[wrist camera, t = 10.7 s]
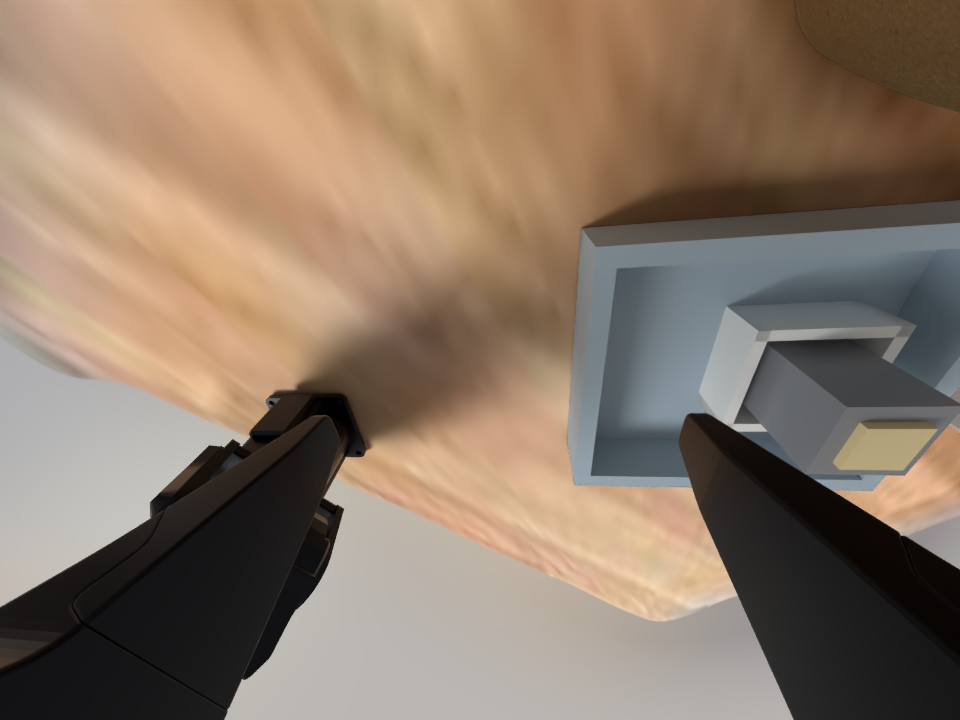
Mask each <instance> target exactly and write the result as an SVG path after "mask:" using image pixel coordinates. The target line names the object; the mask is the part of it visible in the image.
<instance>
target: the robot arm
mask: <svg viewBox="0 0 960 720" xmlns="http://www.w3.org/2000/svg"><path fill="white" fill-rule="evenodd" d="M338 400H340V401H341V402H340V401H338ZM266 404H267V406H268V407H269V409H270V410H269V411H268V412H267V413H266V414H265V416H264V417H263V418H262V419H261V420H260V421H259V422H258V423H257V424H256V425H255V426H254V427H253V428H252V429H251V431H250V433H249V435H250V436H251V437H250V438H249V440H247V442H246V443H245V444H244V445H243V446H242V447H241V446H240V443H238V442H236V441H235V440H231V441H230V442H229V443H228V444H227V445H226V446H225V447H222V446H220V447H219V446H210V445H209V446H208V447H207V448H206V449H205V450H204V451H203V452H202V453H201V454H200V455H199V456H198V457H197V458H196V459H195V460H194V461H193V462H192V463H191V464H190V465H189V466H188V467H187V468H186V469H185V470H184V471H182V472H181V473H180V474H179V475H178V476H177V477H176V478H175V479H174V480H173V481H172V482H171V483H170V484H169V485H168V486H167V487H165V489H163V490H162V491H161V492H160V493H159V494H158V495H157V496H156V497H155V498H154V499H153V500H152V501H151V502H150V519H149V520H147V521H146V522H144V523H143V524H141V525H139V526H138V527H137V528H135V529H133V530H131V531H130V532H128V533H126V534H125V535H124V536H122V537H120V538H119V539H117V540H115V541H114V542H112V543H110V544H108V545H107V546H105V547H103V548H102V549H100V550H98V551H97V552H95V553H93V554H91V555H90V556H88V557H86V558H85V559H83V560H81V561H79V562H78V563H76V564H74V565H73V566H71V567H69V568H67V569H66V570H64V571H62V572H61V573H59V574H57V575H55V576H54V577H52V578H50V579H48V580H47V581H45V582H43V583H41V584H40V585H38V586H36V587H35V588H33V589H31V590H29V591H27V592H26V593H24V594H22V595H20V596H19V597H17V598H15V599H14V600H12V601H10V602H8V603H7V604H5V605H3V606H1V607H0V720H224V719H225V717H226V714H227V709H228V708H229V707H230V705H231V703H232V700H233V698H234V696H235V694H236V691H237V689H238V687H239V685H240V682H241V680H242V679H243V680H245V679H247V678H248V677H250V676H251V675H253V674H254V672H256V670H258V669H259V668H260V667H261V666H262V665H263V664H264V663H265V662H266V661H267V660H268V659H269V658H270V656H271V655H272V653H273V651H274V649H275V647H276V645H277V643H278V641H279V639H280V637H281V635H282V633H283V631H284V629H285V627H286V626H287V624H288V622H289V620H290V618H291V616H292V615H293V613H294V611H295V610H296V609H298V608H299V607H300V606H301V605H302V604H303V603H304V602H305V601H306V600H307V598H308V597H309V596H310V595H311V593H312V592H313V591H314V589H315V588H316V586H317V585H318V583H319V581H320V580H321V578H322V576H323V574H324V572H325V570H326V568H327V566H328V563H329V560H330V557H331V554H332V550H333V546H334V543H335V539H336V535H337V532H338V528H339V525H340V521H341V518H342V514H343V511H344V509H343V508H342V507H340V506H339V505H334V504H333V503H331V502H330V501H328V500H326V499H325V498H324V496H325V494H326V492H327V491H328V489H329V487H330V485H331V483H332V482H333V480H334V478H335V476H336V474H337V472H338V471H339V469H340V467H341V465H342V463H343V461H344V460H345V458H346V457H363V456H364V454H365V452H366V448H365V446H364V443H363V440H362V438H361V435H360V432H359V430H358V427H357V425H356V422H355V419H354V417H353V414H352V412H351V409H350V406H349V404H348V401H347V399H346V397H345V396H344V395H341V394H297V395H270V396H269V397H268V398H267V399H266ZM679 448H680V451H681V455H682V458H683V461H684V464H685V467H686V470H687V473H688V476H689V479H690V483H691V486H692V489H693V492H694V495H695V498H696V501H697V504H698V507H699V509H700V512H701V514H702V516H703V519H704V521H705V523H706V525H707V528H708V530H709V532H710V534H711V537H712V539H713V541H714V543H715V546H716V548H717V550H718V552H719V554H720V557H721V559H722V561H723V563H724V566H725V568H726V570H727V572H728V574H729V577H730V579H731V581H732V583H733V586H734V588H735V590H736V592H737V594H738V597H739V599H740V601H741V603H742V606H743V608H744V610H745V612H746V614H747V617H748V619H749V621H750V623H751V626H752V628H753V630H754V632H755V635H756V637H757V639H758V641H759V643H760V646H761V648H762V650H763V652H764V655H765V657H766V659H767V661H768V663H769V666H770V668H771V670H772V672H773V674H774V677H775V679H776V681H777V683H778V685H779V688H780V690H781V692H782V695H783V697H784V699H785V701H786V703H787V706H788V708H789V710H790V712H791V715H792V717H793V719H794V720H960V569H958V568H956V567H955V566H953V565H951V564H950V563H948V562H946V561H945V560H943V559H942V558H940V557H938V556H937V555H935V554H933V553H932V552H930V551H929V550H927V549H925V548H924V547H922V546H920V545H919V544H917V543H916V542H914V541H913V540H911V539H909V538H908V537H906V536H901V535H900V533H899V532H898V531H896V530H895V529H893V528H891V527H890V526H888V525H887V524H885V523H883V522H882V521H880V520H879V519H877V518H875V517H874V516H872V515H871V514H869V513H867V512H866V511H864V510H863V509H861V508H859V507H858V506H856V505H854V504H853V503H851V502H850V501H848V500H846V499H845V498H843V497H842V496H840V495H838V494H837V493H835V492H834V491H832V490H830V489H829V488H827V487H826V486H824V485H822V484H821V483H819V482H818V481H816V480H814V479H813V478H811V477H809V476H808V475H806V474H805V473H803V472H801V471H800V470H798V469H797V468H795V467H793V466H792V465H790V464H789V463H787V462H785V461H784V460H782V459H781V458H779V457H777V456H776V455H774V454H773V453H771V452H769V451H768V450H766V449H765V448H763V447H761V446H760V445H758V444H756V443H755V442H753V441H752V440H750V439H748V438H747V437H745V436H744V435H742V434H740V433H739V432H737V431H736V430H734V429H732V428H731V427H729V426H728V425H726V424H724V423H723V422H721V421H720V420H718V419H716V418H715V417H713V416H711V415H710V414H707V413H689V414H687V415H686V417H685V420H684V423H683V426H682V429H681V432H680V436H679Z"/></svg>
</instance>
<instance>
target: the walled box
mask: <svg viewBox="0 0 960 720" xmlns="http://www.w3.org/2000/svg"><path fill="white" fill-rule="evenodd" d="M859 300H862V301H864V302H866V303H868V304H870V305H873V306H875V307H877V308H879V309H882V310H884V311H886V312H888V313H890V314H893V315H895V316H897V317H899V318H902V319H904V320H906V321H908V322H910V323H913V324H915V325H917V327H916V328H915V330H914V331H913V333H912V334H911V336H910V337H909V339H908V340H907V342H906V343H905V345H904V346H903V348H902V349H901V351H900V352H899V354H898V355H897V357H896V358H895V360H894V361H893V363H892V364H893V365H895V366H897V367H898V368H900V369H902V370H904V371H905V372H907V373H909V374H910V375H912V376H914V377H916V378H917V379H919V380H921V381H922V382H924V383H926V384H928V385H929V386H931V387H933V388H934V389H936V390H938V391H940V392H941V393H943V394H945V395H946V396H948V397H951V396H952V395H953V393H954V392H955V391H956V390H957V389H958V387H959V386H960V200H955V201H941V202H928V203H914V204H900V205H887V206H873V207H860V208H846V209H832V210H819V211H805V212H791V213H778V214H764V215H751V216H737V217H723V218H710V219H696V220H683V221H669V222H655V223H642V224H628V225H614V226H601V227H587V228H581V236H580V251H579V266H578V281H577V296H576V311H575V327H574V342H573V357H572V372H571V387H570V402H569V417H568V432H567V446H568V452H569V458H570V464H571V470H572V475H573V481H574V485H584V486H636V487H688V488H692V486H691V483H690V479H689V476H688V473H687V470H686V467H685V464H684V461H683V458H682V455H681V451H680V448H679V436H680V432H681V429H682V426H683V423H684V420H685V417H686V415H687V414H689V413H706V412H705V411H704V410H703V408H702V407H701V405H700V404H699V402H698V401H697V400H696V399H697V396H698V393H699V390H700V386H701V383H702V380H703V377H704V374H705V371H706V368H707V365H708V362H709V358H710V355H711V352H712V349H713V346H714V343H715V340H716V337H717V334H718V330H719V327H720V324H721V321H722V318H723V315H724V312H725V309H726V306H743V305H766V304H789V303H812V302H836V301H859ZM739 433H740V434H742V435H744V436H745V437H747V438H748V439H750V440H752V441H753V442H755V443H756V444H758V445H760V446H761V447H763V448H765V449H766V450H768V451H769V452H771V453H773V454H774V455H776V456H777V457H779V458H781V459H782V460H784V461H785V462H787V463H789V464H790V465H792V466H793V467H795V468H797V469H798V470H800V471H801V472H803V471H802V470H801V469H800V468H799V467H798V466H797V465H796V463H795V462H794V461H793V460H792V459H791V458H790V457H789V456H788V454H787V453H786V452H785V451H784V450H783V449H782V448H781V446H780V445H779V444H778V443H777V442H776V441H775V440H774V438H773V437H772V436H771V435H770V434H769V433H768V432H739ZM806 475H808V476H809V477H811V478H813V479H814V480H816V481H818V482H819V483H821V484H822V485H824V486H826V487H827V488H829V489H830V490H844V491H873V490H874V489H875V488H876V486H877V485H878V484H879V483H880V482H881V480H882V479H883V478H884V477H885V476H886V475H830V474H806Z"/></svg>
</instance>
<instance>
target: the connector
mask: <svg viewBox="0 0 960 720" xmlns="http://www.w3.org/2000/svg"><path fill="white" fill-rule="evenodd" d="M742 403H743V404H744V405H745V406H746V408H747V409H748V410H749V411H750V412H751V413H752V414H753V416H754V417H755V418H756V419H757V420H758V421H759V422H760V424H761V425H762V426H763V427H764V428H765V429H766V430H767V432H768V433H769V434H770V435H771V436H772V437H773V438H774V440H775V441H776V442H777V443H778V444H779V445H780V446H781V448H782V449H783V450H784V451H785V452H786V453H787V454H788V456H789V457H790V458H791V459H792V460H793V461H794V462H795V463H796V465H797V466H798V467H799V468H800V469H801V470H802V471H803V473H805V474H830V475H906V473H907V472H908V471H909V470H910V469H911V468H912V467H913V465H914V464H915V463H916V462H917V461H918V460H919V459H920V457H921V456H922V455H923V454H924V453H925V452H926V450H927V449H928V448H929V447H930V446H931V445H932V444H933V442H934V441H935V440H936V439H937V438H938V437H939V436H940V434H941V433H942V432H943V431H944V430H945V429H946V428H947V426H948V425H949V424H950V423H951V422H952V421H953V420H954V418H955V417H956V416H957V415H958V414H959V413H960V403H958V402H957V401H955V400H953V399H952V398H950V397H948V396H946V395H945V394H943V393H941V392H940V391H938V390H936V389H934V388H933V387H931V386H929V385H928V384H926V383H924V382H922V381H921V380H919V379H917V378H916V377H914V376H912V375H910V374H909V373H907V372H905V371H904V370H902V369H900V368H898V367H897V366H895V365H893V364H892V363H890V362H888V361H886V360H885V359H883V358H881V357H880V356H878V355H876V354H874V353H873V352H871V351H869V350H868V349H866V348H864V347H862V346H861V345H859V344H857V343H855V342H854V341H852V340H850V339H826V340H794V341H767V344H766V346H765V349H764V351H763V353H762V356H761V358H760V361H759V363H758V365H757V368H756V370H755V373H754V375H753V377H752V380H751V382H750V385H749V387H748V390H747V392H746V394H745V397H744V399H743V402H742Z"/></svg>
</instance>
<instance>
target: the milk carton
mask: <svg viewBox="0 0 960 720" xmlns="http://www.w3.org/2000/svg"><path fill="white" fill-rule="evenodd" d="M950 398H952V399H953V400H955V401H957V402H958V403H960V387H958V389H957V390H956V391H955V392H954V393H953V395H952V396H951V397H950ZM949 426H950V427H951V428H953V429H954V430H955V431H957V432H958V433H960V413H959V414H958V415H957V416H956V417H955V418H954V420H953V421H952V422H951V423H950V424H949Z"/></svg>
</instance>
